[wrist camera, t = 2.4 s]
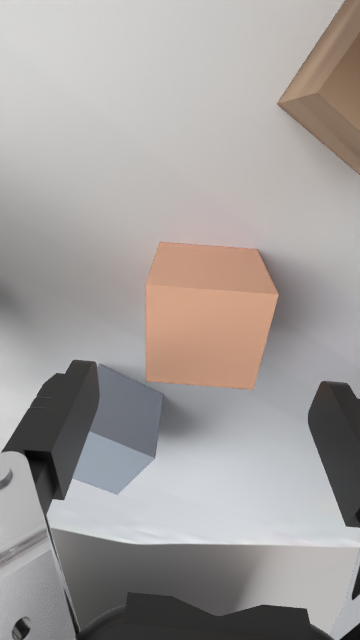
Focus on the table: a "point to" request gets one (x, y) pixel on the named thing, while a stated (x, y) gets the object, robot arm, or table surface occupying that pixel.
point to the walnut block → (331, 87)
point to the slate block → (120, 432)
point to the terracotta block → (207, 315)
